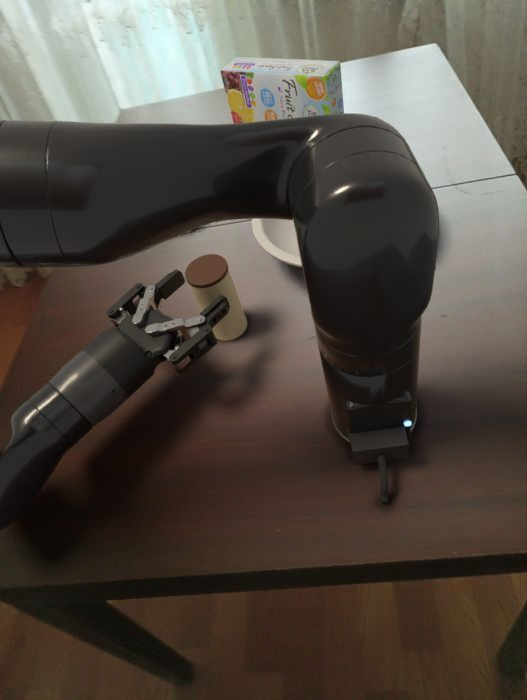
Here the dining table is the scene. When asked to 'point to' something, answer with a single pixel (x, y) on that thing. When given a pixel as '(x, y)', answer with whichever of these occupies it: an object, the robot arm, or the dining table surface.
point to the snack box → (282, 88)
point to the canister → (217, 293)
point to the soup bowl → (278, 239)
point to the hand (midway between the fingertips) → (203, 287)
